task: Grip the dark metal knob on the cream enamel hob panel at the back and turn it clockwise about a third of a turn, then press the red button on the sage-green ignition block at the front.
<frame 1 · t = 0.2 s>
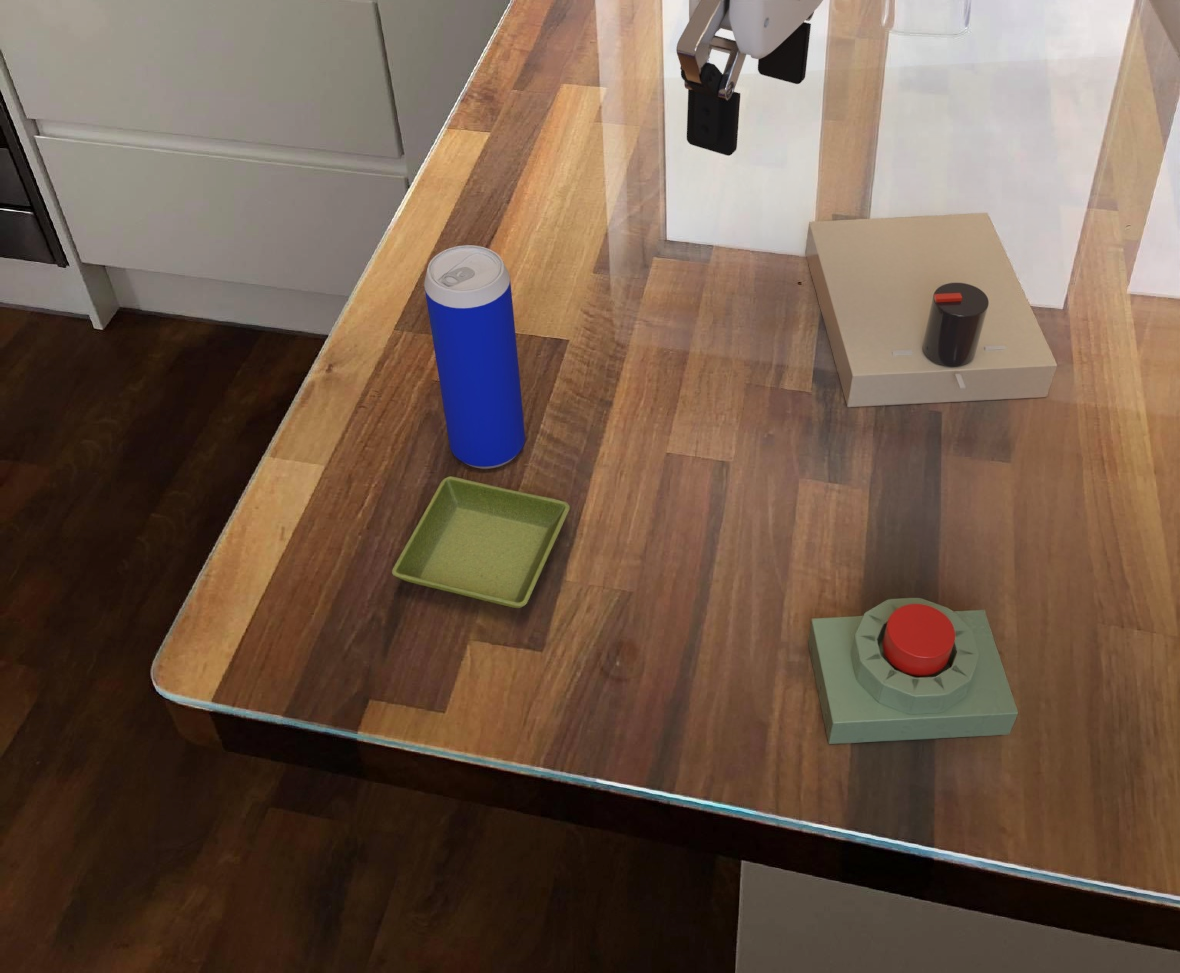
hand: (747, 111, 78), 18 cm above the counter, tool pointing down, fingers open, 9 cm apart
hob panel: (918, 320, 91), on the counter
beverage can: (488, 448, 84), on the counter
green square tray: (486, 560, 77), on the counter
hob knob: (955, 323, 83), point 5 cm above the counter, hinge at 0.0°
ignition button: (918, 639, 66), point 4 cm above the counter, slide at 0.1 cm
ignition block: (905, 686, 69), on the counter
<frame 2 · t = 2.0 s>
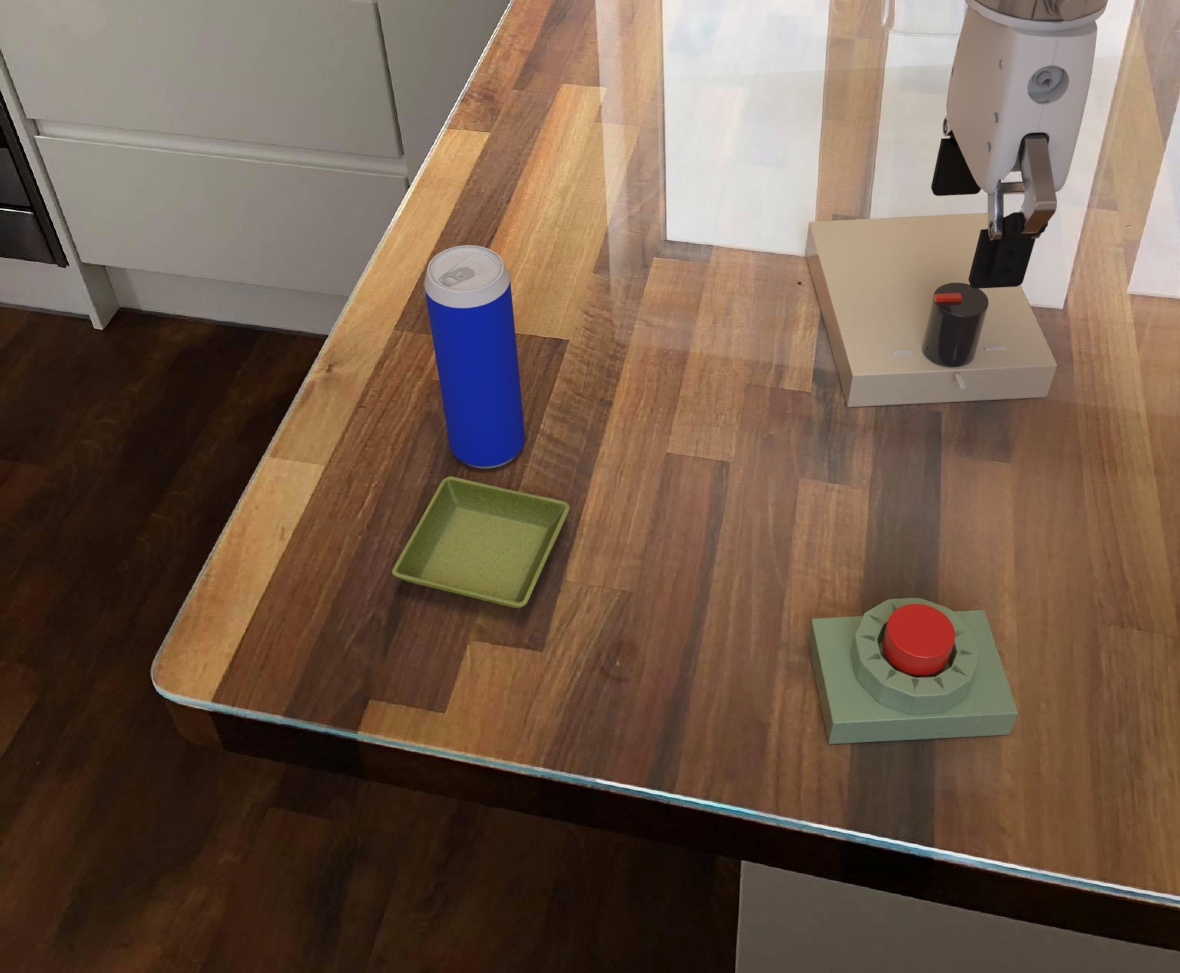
hand: (973, 236, 78), 12 cm above the counter, tool pointing down, fingers open, 9 cm apart
nothing on the counter moved.
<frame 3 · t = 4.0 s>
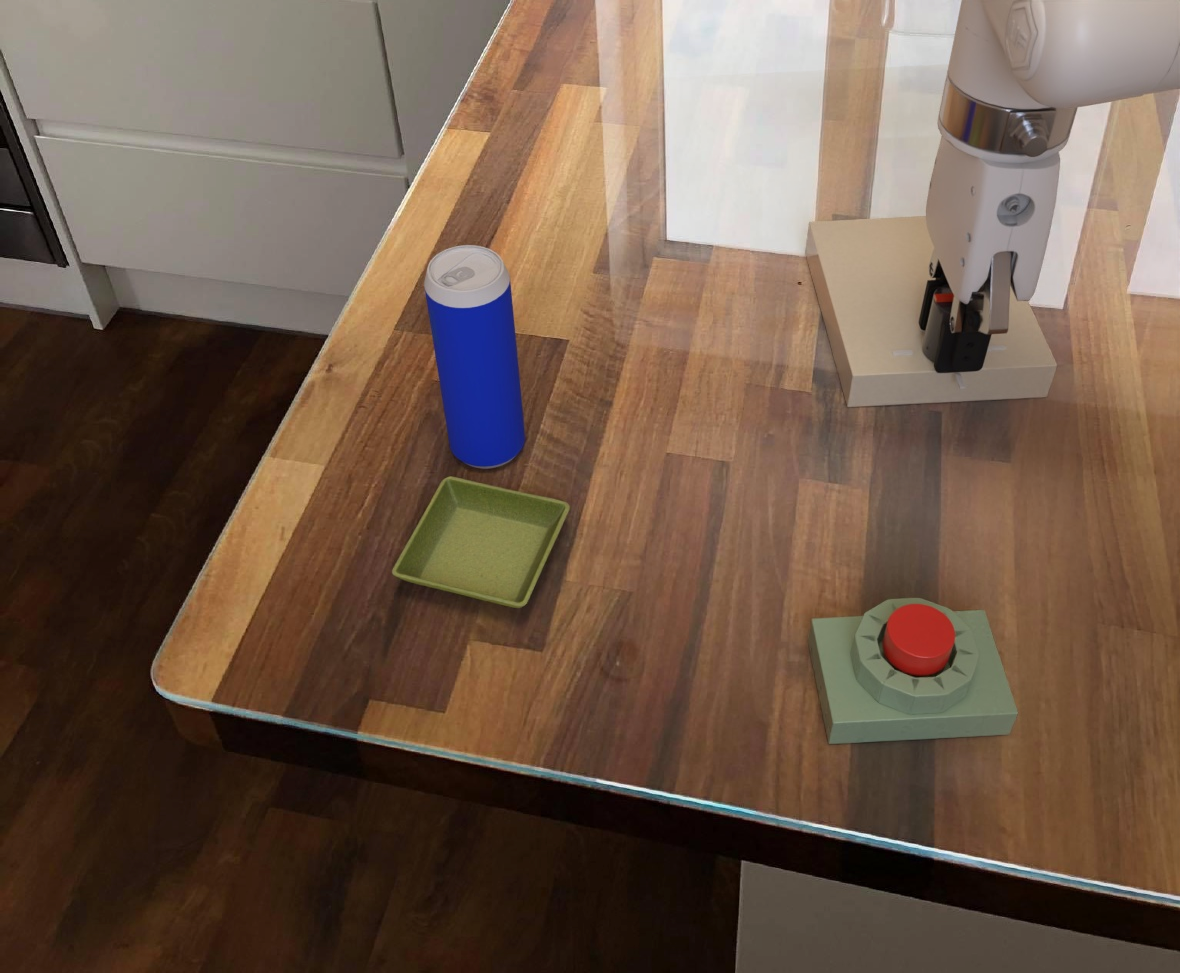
hand: (949, 345, 84), 3 cm above the counter, tool pointing down, fingers closed on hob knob, 3 cm apart
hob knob: (955, 323, 83), point 5 cm above the counter, hinge at -0.1°, touching gripper
everything else where it was.
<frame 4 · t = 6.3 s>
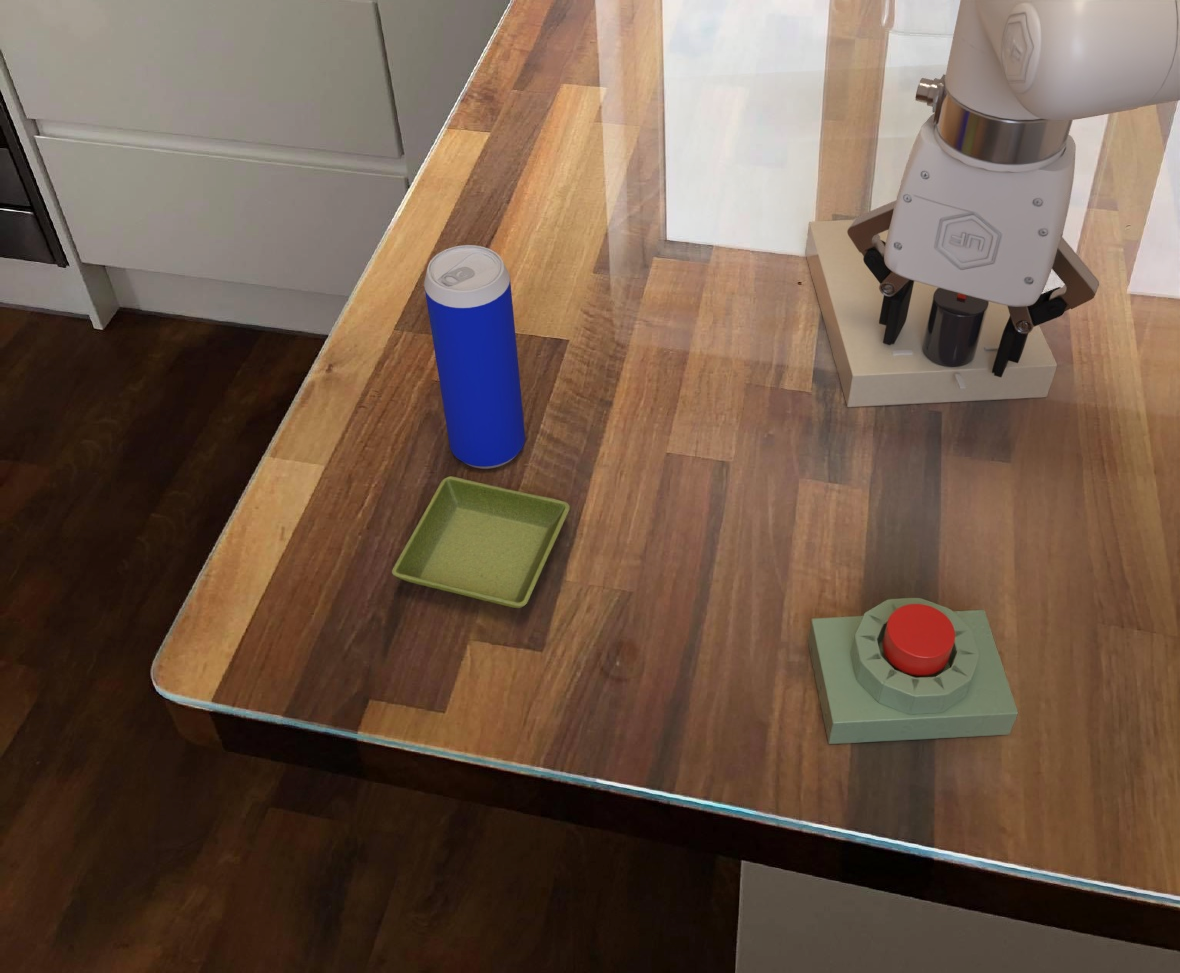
hand: (947, 346, 84), 3 cm above the counter, tool pointing down, fingers open, 6 cm apart
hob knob: (955, 323, 83), point 5 cm above the counter, hinge at -117.0°
everything else where it was.
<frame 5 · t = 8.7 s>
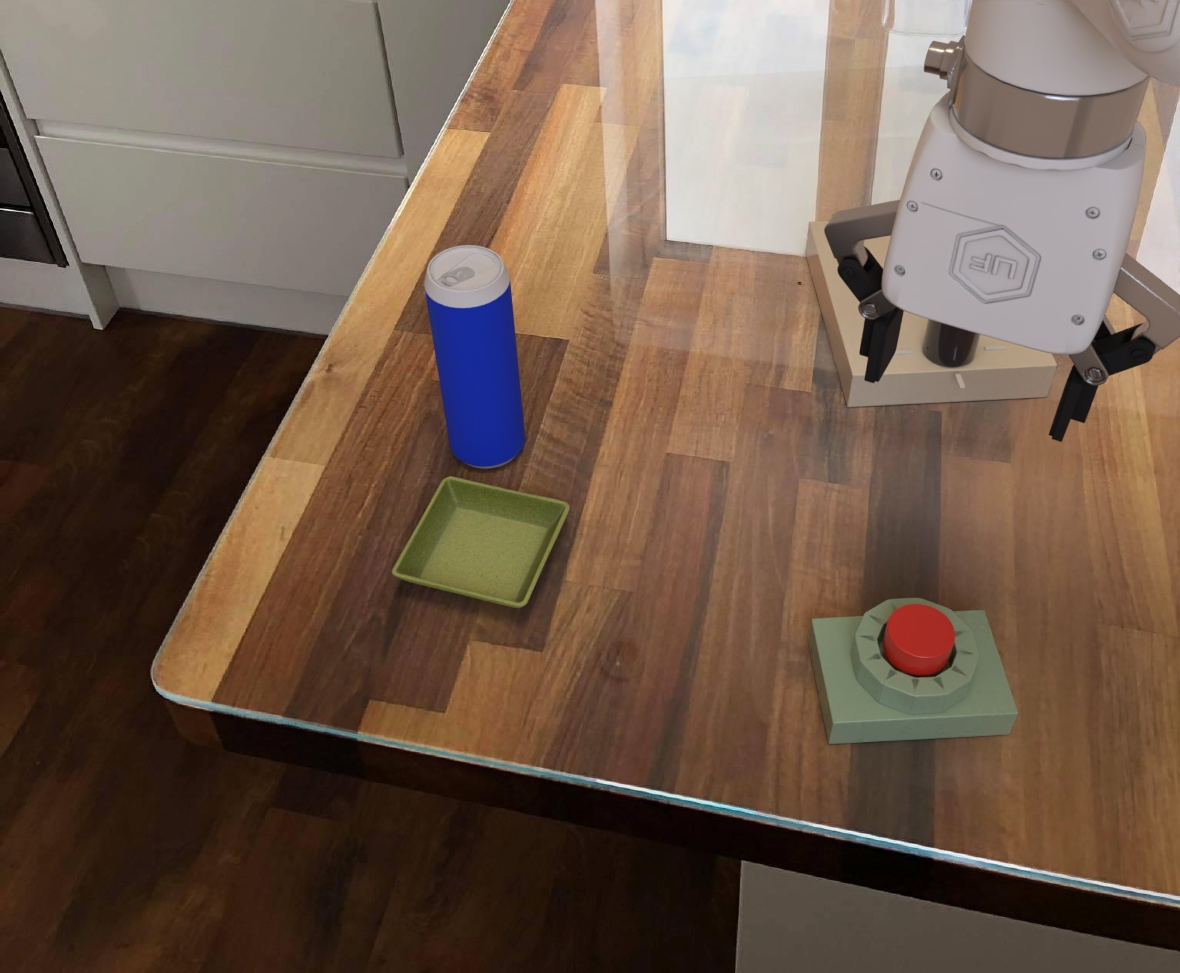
hand: (968, 394, 64), 15 cm above the counter, tool pointing down, fingers open, 9 cm apart
nothing on the counter moved.
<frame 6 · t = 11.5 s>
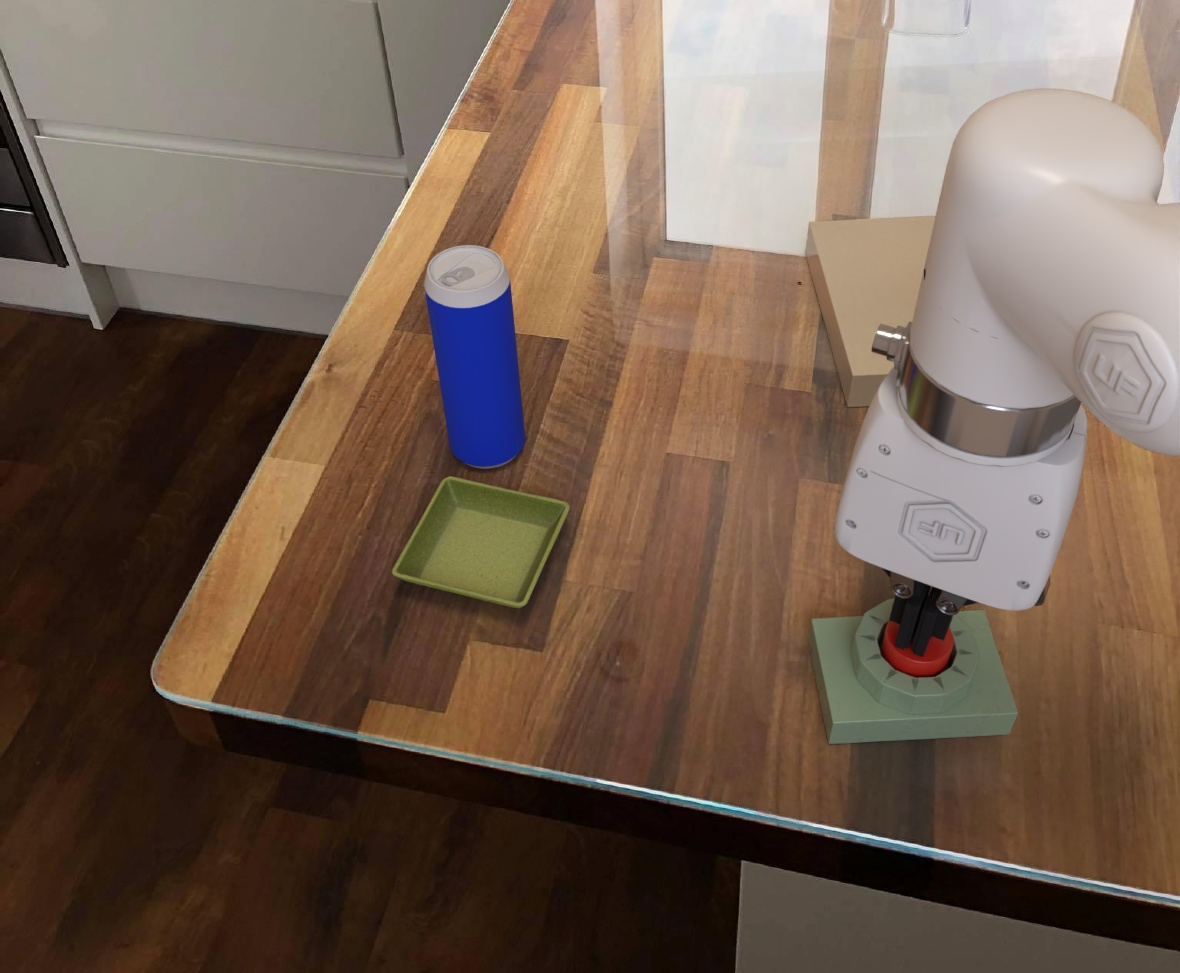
hand: (916, 632, 66), 5 cm above the counter, tool pointing down, fingers closed
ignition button: (917, 644, 67), point 4 cm above the counter, slide at -0.3 cm, touching gripper
everything else where it was.
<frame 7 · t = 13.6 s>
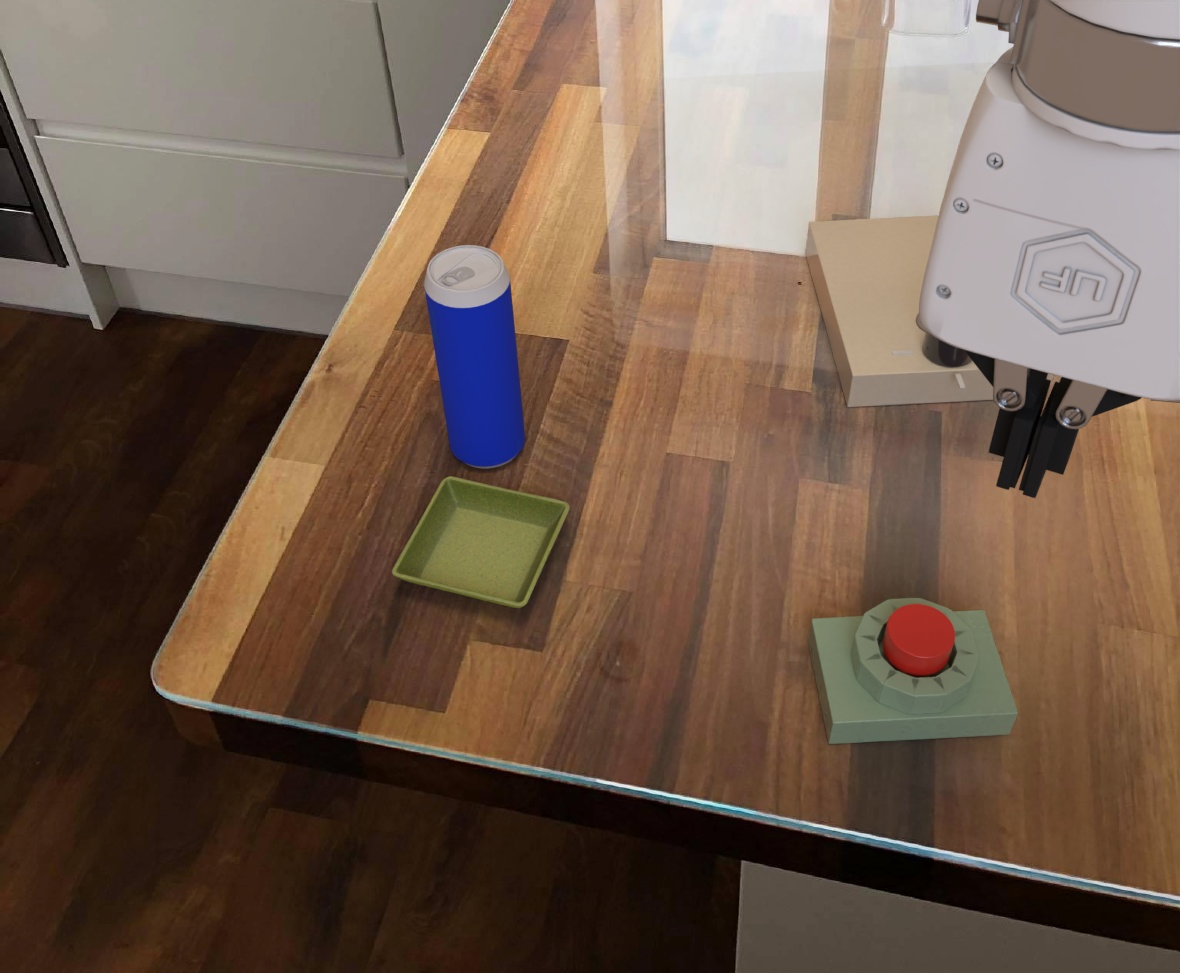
hand: (1024, 470, 50), 22 cm above the counter, tool pointing down, fingers closed
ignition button: (918, 639, 66), point 4 cm above the counter, slide at 0.1 cm
everything else where it was.
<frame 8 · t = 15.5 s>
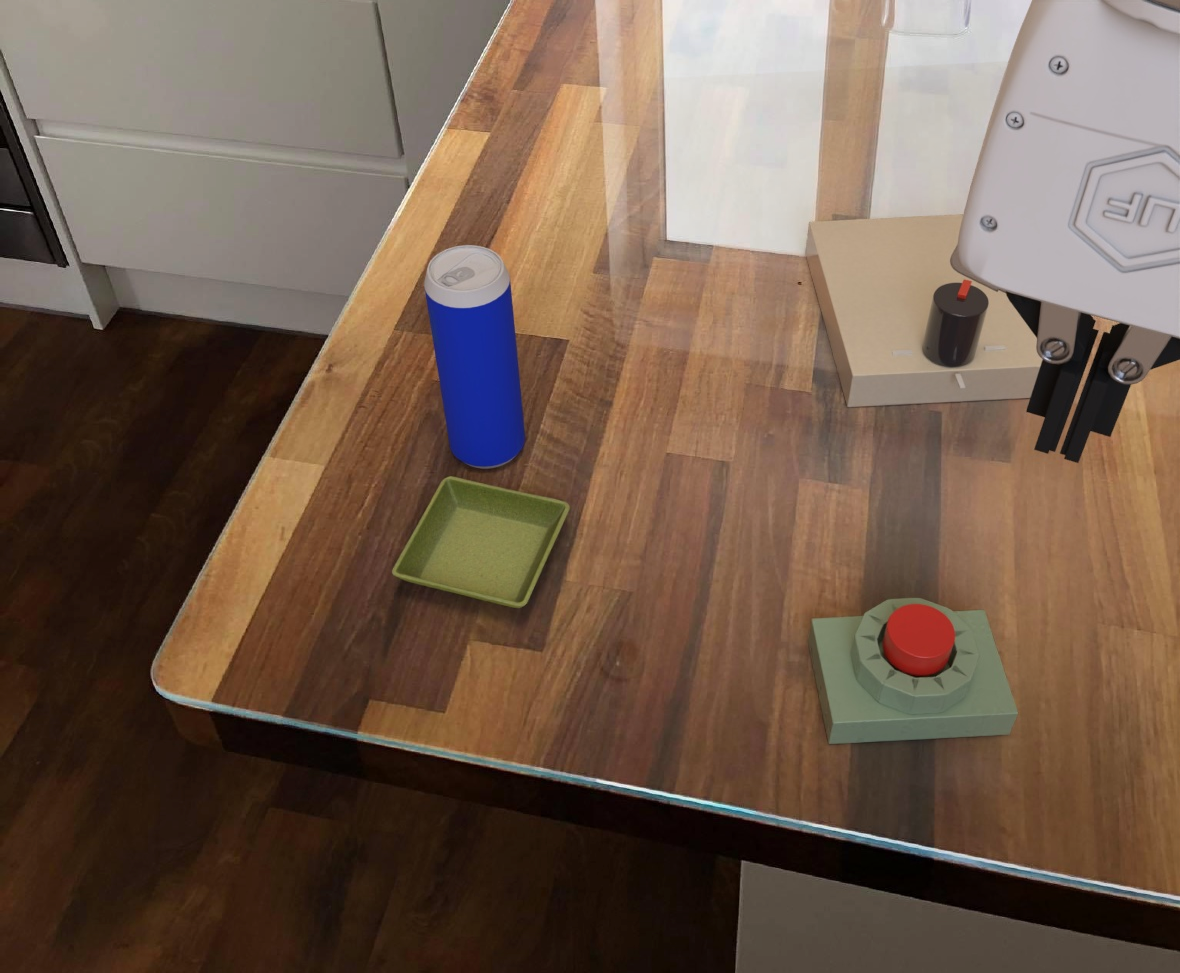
hand: (1065, 431, 45), 27 cm above the counter, tool pointing down, fingers closed
nothing on the counter moved.
at the end: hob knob at -117° (first picture: +0°); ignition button pushed in 1.1 cm at the most during the clip, back to where it started at the end; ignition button slide at 0.1 cm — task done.
